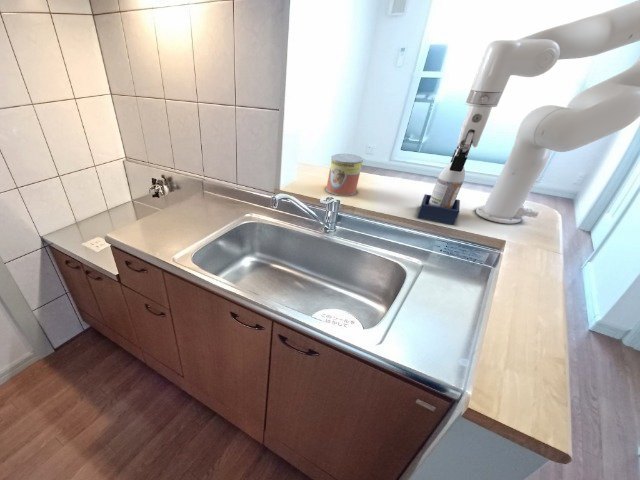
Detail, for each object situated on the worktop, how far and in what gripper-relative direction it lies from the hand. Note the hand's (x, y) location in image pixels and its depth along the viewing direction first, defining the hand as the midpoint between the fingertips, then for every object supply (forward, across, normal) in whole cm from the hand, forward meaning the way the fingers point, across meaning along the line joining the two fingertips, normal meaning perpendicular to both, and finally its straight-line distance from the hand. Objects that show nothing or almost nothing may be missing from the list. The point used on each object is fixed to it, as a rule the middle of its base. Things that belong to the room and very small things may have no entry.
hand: (455, 166), depth 98 cm
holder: (+16, 0, 0) cm, 16 cm away
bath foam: (+15, 0, 0) cm, 15 cm away
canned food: (+16, +8, +34) cm, 38 cm away
